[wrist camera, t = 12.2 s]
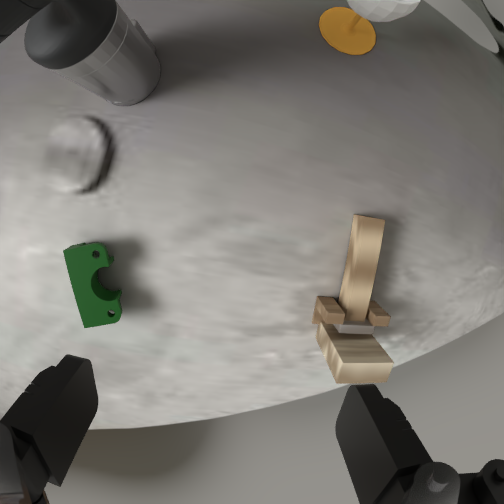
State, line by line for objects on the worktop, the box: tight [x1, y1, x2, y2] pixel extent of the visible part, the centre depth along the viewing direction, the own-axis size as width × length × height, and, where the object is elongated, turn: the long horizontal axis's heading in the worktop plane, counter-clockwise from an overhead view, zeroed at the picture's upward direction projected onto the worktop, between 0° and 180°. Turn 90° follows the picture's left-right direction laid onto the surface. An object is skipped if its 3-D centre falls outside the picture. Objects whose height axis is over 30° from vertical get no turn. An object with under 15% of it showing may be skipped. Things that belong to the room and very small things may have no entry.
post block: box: [312, 296, 394, 383], centre depth 39 cm, size 7×9×12 cm
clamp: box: [63, 242, 122, 328], centre depth 39 cm, size 12×6×9 cm, turn 1°
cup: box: [319, 0, 421, 55], centre depth 27 cm, size 9×9×16 cm
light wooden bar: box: [333, 215, 385, 334], centre depth 40 cm, size 15×5×6 cm, turn 173°
